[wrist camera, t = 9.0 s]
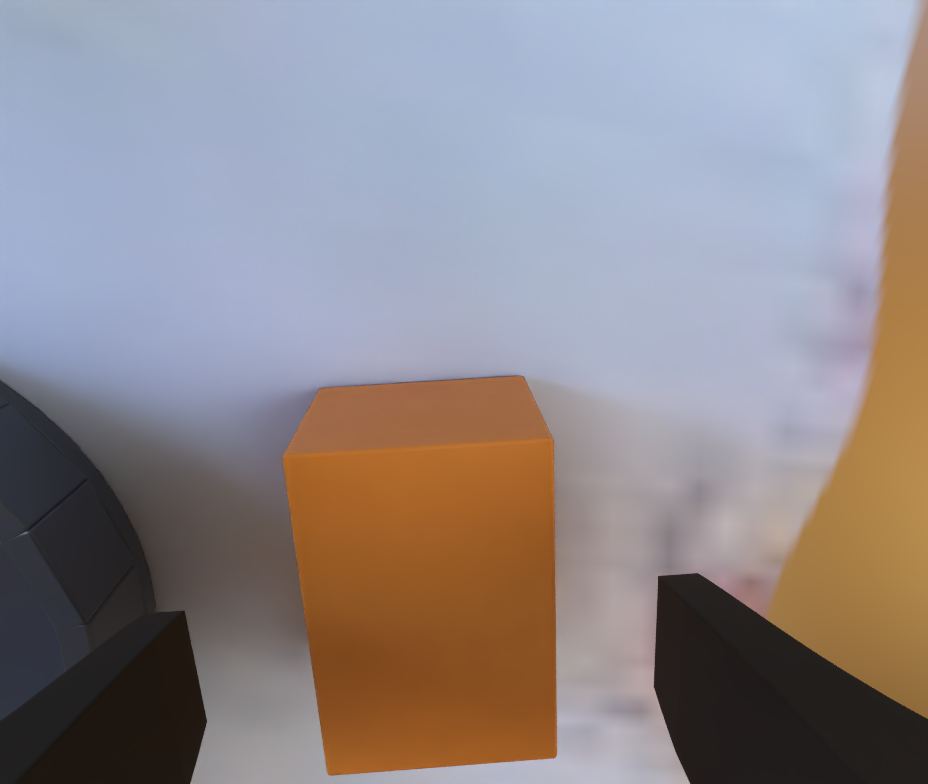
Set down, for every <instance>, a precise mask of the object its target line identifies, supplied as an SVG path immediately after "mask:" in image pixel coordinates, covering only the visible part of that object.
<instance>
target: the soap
mask: <svg viewBox="0 0 928 784" xmlns="http://www.w3.org/2000/svg"><path fill="white" fill-rule="evenodd" d="M282 460H283V467H284V474H285V481H286V488H287V495H288V502H289V509H290V516H291V523H292V530H293V537H294V544H295V551H296V558H297V565H298V572H299V579H300V586H301V593H302V600H303V607H304V614H305V621H306V628H307V635H308V642H309V649H310V656H311V663H312V670H313V677H314V684H315V691H316V698H317V705H318V712H319V719H320V726H321V733H322V740H323V747H324V754H325V761H326V768H327V773H328V775H343V774H356V773H369V772H382V771H395V770H408V769H421V768H434V767H447V766H460V765H473V764H486V763H499V762H512V761H524V760H537V759H550V758H555V757H556V756H557V700H556V606H555V512H554V440H553V438H552V436H551V434H550V432H549V429H548V427H547V425H546V423H545V421H544V419H543V417H542V415H541V412H540V410H539V408H538V406H537V404H536V402H535V400H534V398H533V395H532V393H531V391H530V389H529V387H528V385H527V383H526V381H525V378H524V377H523V376H510V377H494V378H477V379H461V380H444V381H428V382H412V383H395V384H379V385H363V386H346V387H330V388H320V389H319V390H318V392H317V394H316V396H315V398H314V399H313V401H312V403H311V405H310V407H309V409H308V410H307V412H306V414H305V416H304V418H303V420H302V421H301V423H300V425H299V427H298V429H297V431H296V432H295V434H294V436H293V438H292V440H291V441H290V443H289V445H288V447H287V449H286V451H285V452H284V454H283V457H282Z"/></svg>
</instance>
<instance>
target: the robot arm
mask: <svg viewBox="0 0 928 784" xmlns="http://www.w3.org/2000/svg"><path fill="white" fill-rule="evenodd" d="M654 688H655V691H656V695H657V698H658V701H659V704H660V707H661V710H662V713H663V716H664V719H665V723H666V725H667V728H668V731H669V734H670V737H671V740H672V743H673V746H674V748H675V751H676V754H677V756H678V758H679V760H680V762H681V765H682V767H683V769H684V771H685V773H686V775H687V777H688V780H689V782H690V784H928V719H927V718H925V717H923V716H921V715H919V714H917V713H915V712H914V711H912V710H910V709H908V708H906V707H905V706H902V705H901V704H899V703H898V702H896V701H894V700H892V699H890V698H889V697H887V696H885V695H884V694H882V693H880V692H879V691H877V690H875V689H874V688H872V687H870V686H869V685H867V684H865V683H864V682H862V681H860V680H859V679H857V678H855V677H854V676H852V675H850V674H849V673H847V672H845V671H844V670H842V669H840V668H839V667H837V666H836V665H834V664H833V663H831V662H829V661H828V660H826V659H825V658H823V657H821V656H820V655H818V654H817V653H815V652H814V651H812V650H811V649H809V648H807V647H806V646H805V645H803V644H802V643H800V642H798V641H797V640H795V639H794V638H793V637H791V636H790V635H788V634H787V633H785V632H784V631H782V630H781V629H779V628H778V627H776V626H775V625H773V624H772V623H770V622H769V621H768V620H766V619H765V618H763V617H762V616H760V615H759V614H757V613H756V612H755V611H753V610H752V609H750V608H749V607H747V606H746V605H744V604H743V603H742V602H740V601H739V600H737V599H736V598H734V597H733V596H731V595H730V594H729V593H727V592H726V591H724V590H723V589H721V588H720V587H718V586H717V585H715V584H714V583H712V582H711V581H709V580H708V579H706V578H705V577H703V576H701V575H700V574H698V573H695V574H681V575H668V576H658V599H657V623H656V647H655V671H654ZM206 723H207V719H206V714H205V709H204V704H203V699H202V694H201V689H200V684H199V679H198V675H197V670H196V665H195V660H194V655H193V650H192V645H191V640H190V635H189V630H188V625H187V620H186V615H185V611H173V612H159V613H145V614H142V615H141V616H139V617H138V618H136V619H135V620H133V621H132V622H130V623H129V624H128V625H126V626H125V627H123V628H122V629H121V630H119V631H118V632H117V633H115V634H114V635H113V636H111V637H110V638H109V639H107V640H106V641H105V642H103V643H102V644H101V645H100V646H98V647H97V648H96V649H94V650H93V651H92V652H90V653H89V654H88V655H87V656H85V657H84V658H83V659H81V660H80V661H79V662H78V663H76V664H75V665H74V666H72V667H71V668H70V669H68V670H67V671H66V672H64V673H63V674H62V675H61V676H59V677H58V678H57V679H55V680H54V681H53V682H51V683H50V684H49V685H47V686H46V687H45V688H44V689H42V690H41V691H40V692H38V693H37V694H36V695H34V696H33V697H32V698H30V699H29V700H28V701H27V702H25V703H24V704H23V705H21V706H20V707H19V708H17V709H16V710H15V711H13V712H12V713H10V714H9V715H8V716H6V717H5V718H3V719H2V720H1V721H0V784H190V782H191V778H192V775H193V771H194V768H195V765H196V761H197V758H198V754H199V750H200V746H201V742H202V739H203V735H204V731H205V727H206Z"/></svg>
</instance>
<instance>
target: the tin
mask: <svg viewBox="0 0 928 784" xmlns="http://www.w3.org/2000/svg"><path fill="white" fill-rule="evenodd" d="M145 613H155V600H154V595H153V589H152V584H151V579H150V574H149V569H148V566H147V563H146V560H145V558H144V555H143V552H142V549H141V546H140V543H139V540H138V538H137V535H136V533H135V531H134V529H133V527H132V525H131V523H130V521H129V519H128V517H127V516H126V514H125V512H124V510H123V508H122V506H121V504H120V502H119V501H118V499H117V498H116V496H115V495H114V493H113V492H112V490H111V489H110V487H109V486H108V484H107V483H106V481H105V480H104V479H103V477H102V476H101V474H100V473H99V471H98V470H97V469H96V467H95V466H94V465H93V464H92V463H91V462H90V461H89V459H88V458H87V457H86V456H85V455H84V454H83V453H82V451H81V450H80V449H79V448H78V447H77V446H76V445H75V443H74V442H73V441H72V440H71V439H70V438H69V437H68V436H67V435H66V434H65V433H64V432H63V431H62V430H60V429H59V428H58V427H57V426H56V425H55V424H54V423H53V422H52V421H51V420H49V419H48V418H47V417H46V416H45V415H44V414H43V413H42V412H41V411H40V410H39V409H37V408H36V407H35V406H33V405H32V404H31V403H29V402H28V401H26V400H25V399H24V398H22V397H21V396H20V395H18V394H17V393H16V392H14V391H13V390H11V389H10V388H9V387H7V386H6V385H5V384H3V383H2V382H0V721H1V720H2V719H3V718H5V717H6V716H8V715H9V714H10V713H12V712H13V711H15V710H16V709H17V708H19V707H20V706H21V705H23V704H24V703H25V702H27V701H28V700H29V699H30V698H32V697H33V696H34V695H36V694H37V693H38V692H40V691H41V690H42V689H44V688H45V687H46V686H47V685H49V684H50V683H51V682H53V681H54V680H55V679H57V678H58V677H59V676H61V675H62V674H63V673H64V672H66V671H67V670H68V669H70V668H71V667H72V666H74V665H75V664H76V663H78V662H79V661H80V660H81V659H83V658H84V657H85V656H87V655H88V654H89V653H90V652H92V651H93V650H94V649H96V648H97V647H98V646H100V645H101V644H102V643H103V642H105V641H106V640H107V639H109V638H110V637H111V636H113V635H114V634H115V633H117V632H118V631H119V630H121V629H122V628H123V627H125V626H126V625H128V624H129V623H130V622H132V621H133V620H135V619H136V618H138V617H139V616H141V615H142V614H145Z"/></svg>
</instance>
